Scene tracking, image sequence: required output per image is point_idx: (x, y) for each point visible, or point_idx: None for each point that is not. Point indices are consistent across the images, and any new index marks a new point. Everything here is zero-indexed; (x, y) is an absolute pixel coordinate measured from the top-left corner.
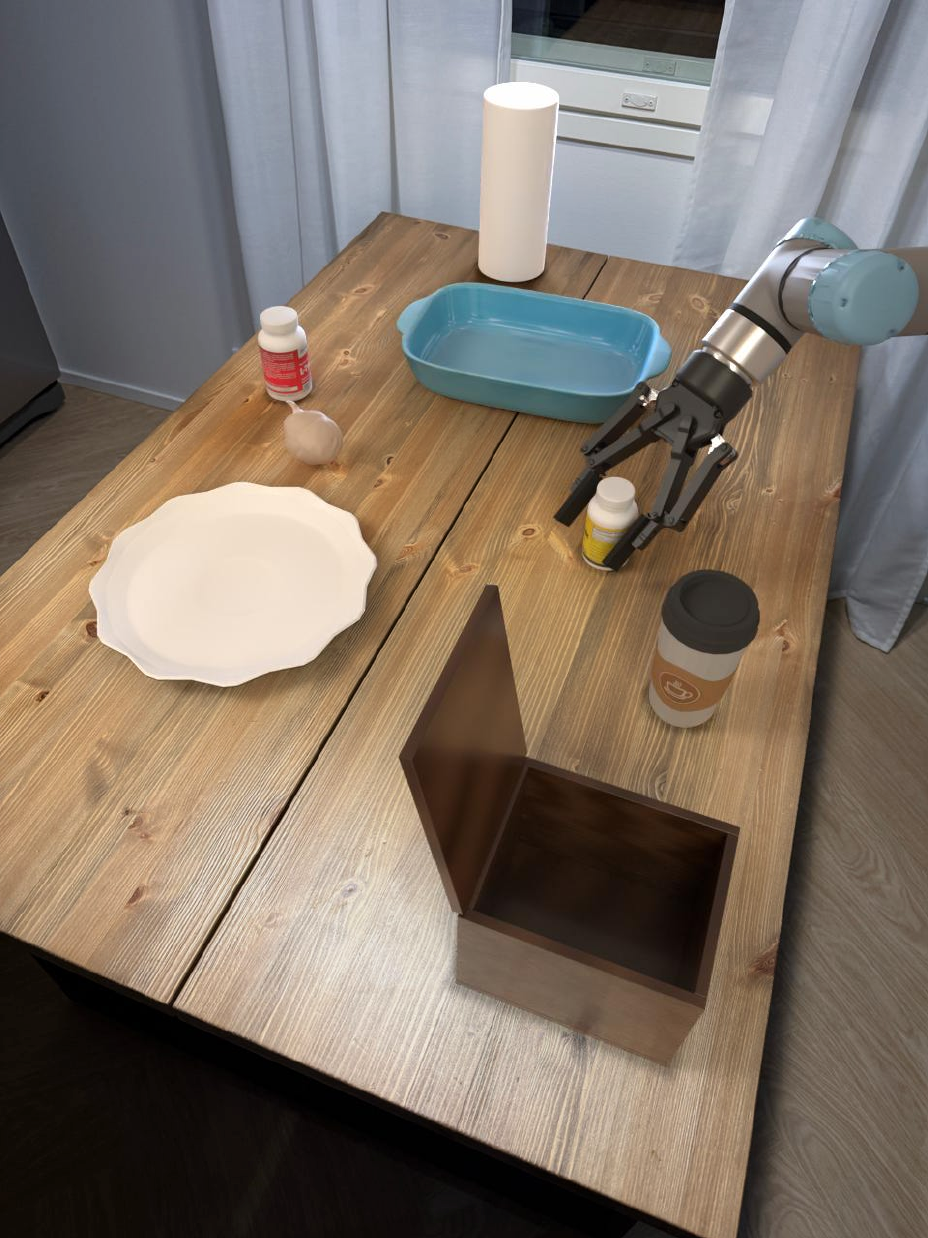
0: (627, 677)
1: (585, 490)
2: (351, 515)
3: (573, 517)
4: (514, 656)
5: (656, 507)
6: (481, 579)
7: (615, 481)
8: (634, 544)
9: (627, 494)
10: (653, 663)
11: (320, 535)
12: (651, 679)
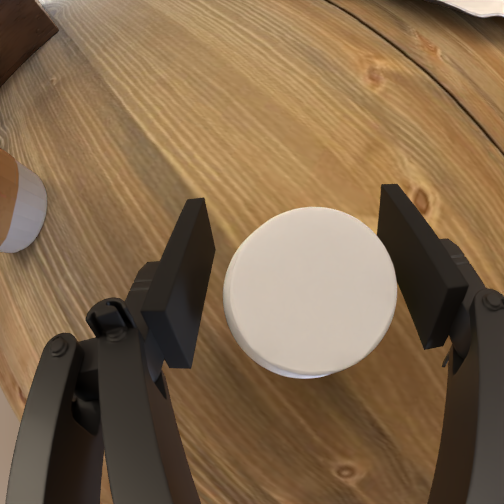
0: (74, 173)
1: (417, 259)
2: (477, 13)
3: (385, 242)
4: (188, 61)
5: (122, 353)
6: (345, 80)
7: (358, 317)
8: (154, 264)
9: (257, 311)
10: (3, 152)
11: (462, 5)
12: (23, 167)
